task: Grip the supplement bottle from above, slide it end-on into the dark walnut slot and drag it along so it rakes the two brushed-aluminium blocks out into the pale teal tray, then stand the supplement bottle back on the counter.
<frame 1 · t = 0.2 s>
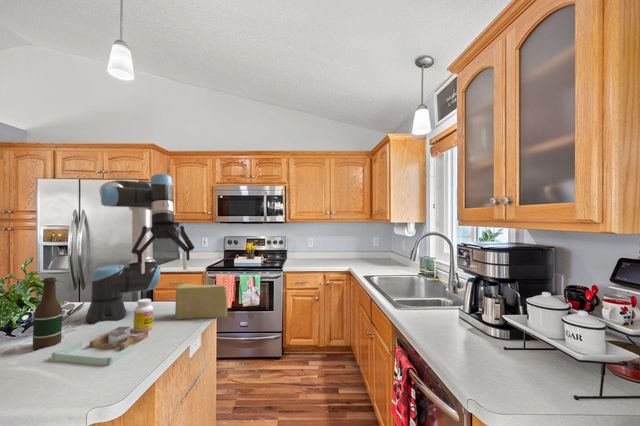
hand: (165, 271, 109), 27 cm above the countertop, tool tilted 20°, fingers open, 13 cm apart
slot board: (119, 344, 110), on the countertop
beer bottle: (46, 347, 107), on the countertop
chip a: (121, 339, 112), point 1 cm above the countertop, touching slot board
tray: (93, 358, 99), on the countertop
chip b: (117, 345, 107), point 1 cm above the countertop, touching slot board
supplement bottle: (143, 332, 122), on the countertop
tan rectangular block: (202, 317, 142), on the countertop
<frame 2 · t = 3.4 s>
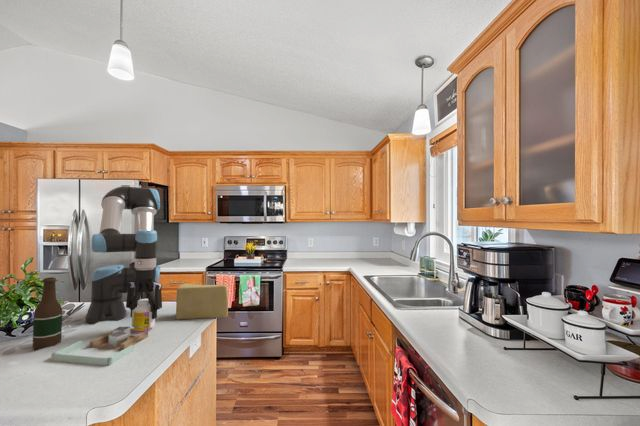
hand: (143, 326, 122), 3 cm above the countertop, tool pointing down, fingers closed on supplement bottle, 7 cm apart
supplement bottle: (143, 332, 122), on the countertop, touching gripper
everything else where it was.
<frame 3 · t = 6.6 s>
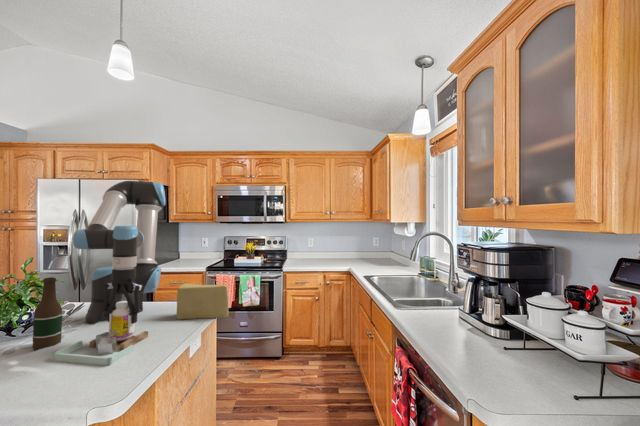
hand: (122, 331, 111), 5 cm above the countertop, tool pointing down, fingers closed on supplement bottle, 7 cm apart
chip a: (105, 346, 106), point 1 cm above the countertop, touching supplement bottle, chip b
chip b: (108, 352, 102), point 1 cm above the countertop, tilted 10°, touching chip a
supplement bottle: (122, 338, 111), point 2 cm above the countertop, touching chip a, gripper
everything else where it was.
when the fingers open (3 cm above the countertop, at t = 14.0 s): supplement bottle drops 1 cm, on the countertop.
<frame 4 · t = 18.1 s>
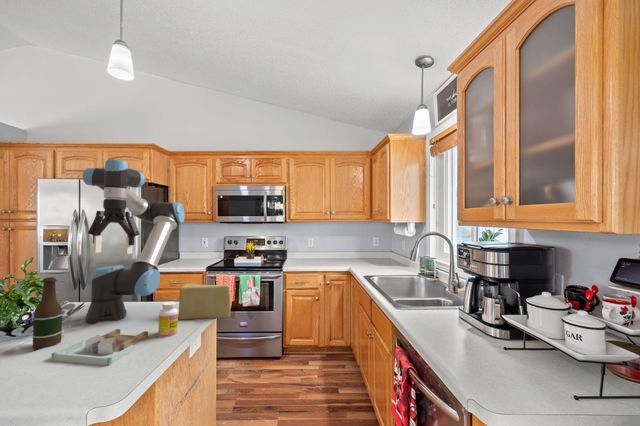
hand: (113, 253, 120), 32 cm above the countertop, tool pointing down, fingers open, 13 cm apart
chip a: (96, 350, 103), point 1 cm above the countertop, tilted 11°, touching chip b, slot board, tray
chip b: (107, 352, 102), point 1 cm above the countertop, tilted 9°, touching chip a, slot board, tray
supplement bottle: (167, 336, 119), on the countertop
at the end: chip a inside the target area on the tray (4.7 cm from its centre), point 0.8 cm above the tray's base; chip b inside the target area on the tray (3.6 cm from its centre), point 0.7 cm above the tray's base; supplement bottle tilted 0° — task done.
